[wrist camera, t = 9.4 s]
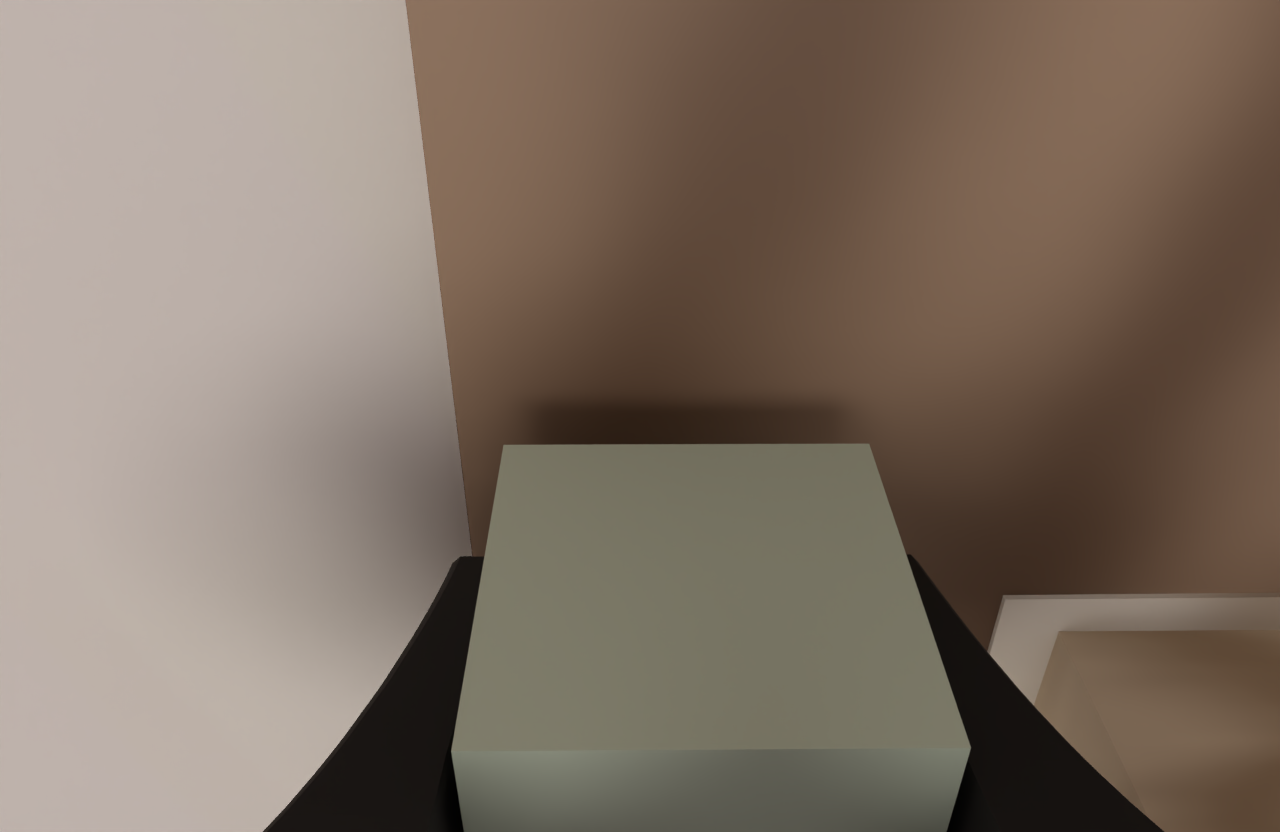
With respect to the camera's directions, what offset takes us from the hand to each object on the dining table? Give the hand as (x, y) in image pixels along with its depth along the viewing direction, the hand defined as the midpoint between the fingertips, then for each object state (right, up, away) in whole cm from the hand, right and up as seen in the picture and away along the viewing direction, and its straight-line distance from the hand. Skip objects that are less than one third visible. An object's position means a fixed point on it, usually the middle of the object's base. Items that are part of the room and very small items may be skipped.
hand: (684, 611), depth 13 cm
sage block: (0, 0, 0) cm, 1 cm away
